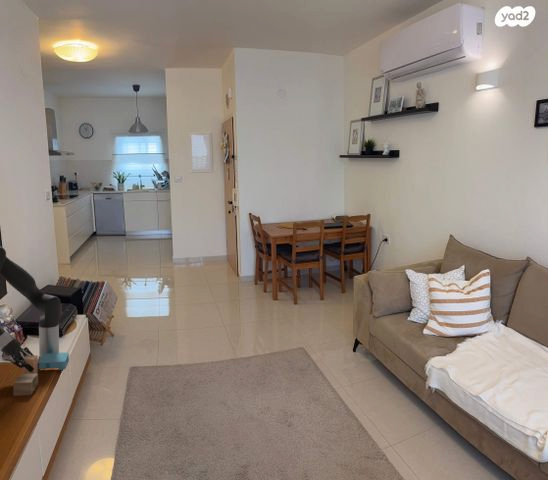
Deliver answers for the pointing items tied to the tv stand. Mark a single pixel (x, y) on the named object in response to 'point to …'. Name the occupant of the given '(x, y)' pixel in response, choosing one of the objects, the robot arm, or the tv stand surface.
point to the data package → (54, 360)
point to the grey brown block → (25, 384)
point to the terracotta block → (33, 362)
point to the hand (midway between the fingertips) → (34, 368)
